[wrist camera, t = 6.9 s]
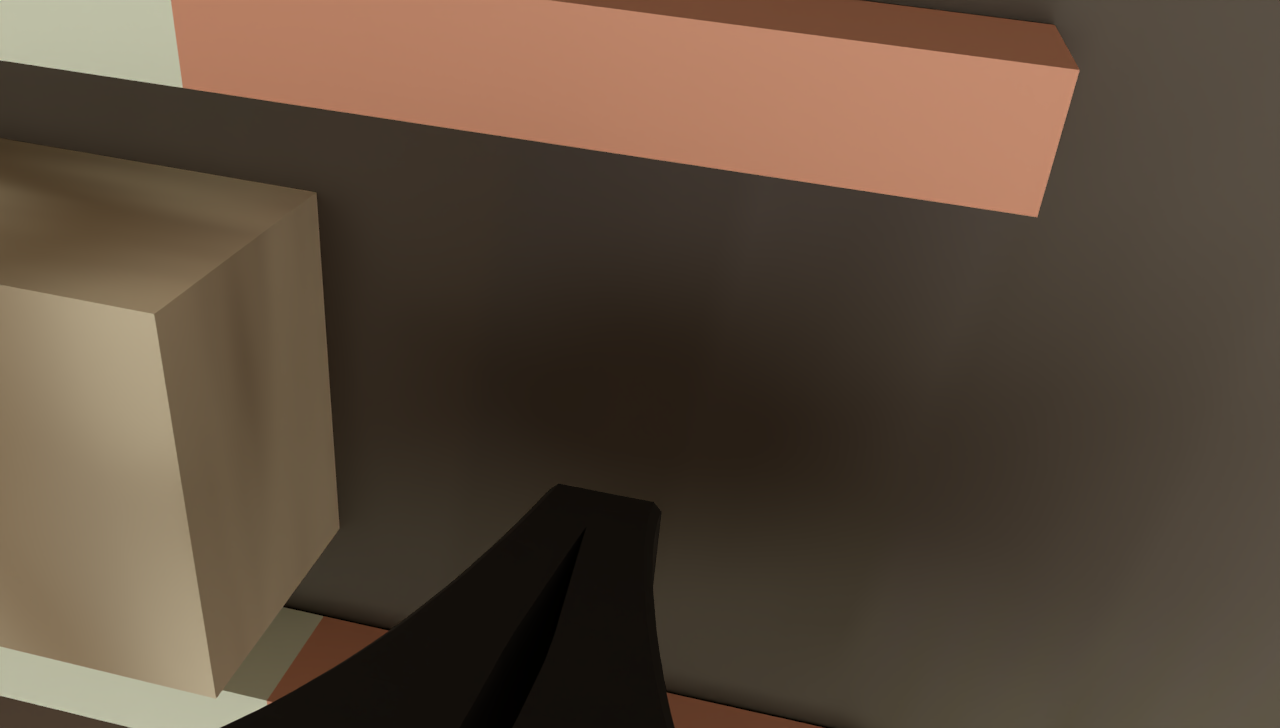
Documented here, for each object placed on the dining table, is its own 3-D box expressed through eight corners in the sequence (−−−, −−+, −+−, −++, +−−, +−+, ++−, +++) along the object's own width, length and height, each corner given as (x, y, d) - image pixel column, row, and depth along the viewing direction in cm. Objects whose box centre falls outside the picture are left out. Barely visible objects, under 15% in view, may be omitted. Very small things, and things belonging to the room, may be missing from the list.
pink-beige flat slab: (-122, 572, 21) (-212, 643, 19) (-389, -159, 15) (-561, -147, 13) (845, 795, 18) (839, 901, 17) (1054, 25, 12) (1079, 70, 10)
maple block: (26, 453, 19) (-166, 606, 16) (-56, 122, 16) (-317, 223, 13) (344, 521, 18) (215, 698, 15) (322, 188, 15) (154, 313, 12)
